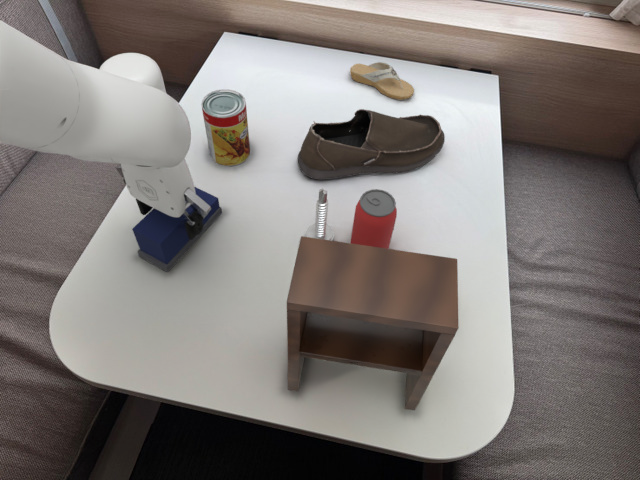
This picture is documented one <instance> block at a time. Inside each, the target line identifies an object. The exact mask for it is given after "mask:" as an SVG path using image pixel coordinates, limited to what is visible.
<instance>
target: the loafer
mask: <svg viewBox="0 0 640 480" xmlns="http://www.w3.org/2000/svg"><path fill="white" fill-rule="evenodd" d="M445 137H446V136H445V133H444V131H443V129H442V127H441V123H440V122H439V121H438V120H437V119H436V118H435V117H434V116H432V115H428V114H427V115H426V114H417V115H410V116H409V115H408V116H400V117H396V116H391V115H387V114H384V113H381V112H377V111H374V110H371V109H364V108H361V109H357V110H356V111H355V112H354V116H353V117H352V118H351V119H350V120H347V121H340V122H329V123H328V122H316V121H315V120H313V123H312V124H311V125H310V127H309V128H308V132H307V133H306V136H305V137H304V139H303V141H302V144H301V146H300V151H299V152H298V155H297V165H298V168H299V169H300V171H301V173H303V174H304V175H305V176H307V177H308V178H310V179H314V180H331V179H333V180H334V179H339V178H346V177H352V176H356V175H363V174H373V173H374V174H377V173H378V174H402V173H408V172H412V171H414V170H417V169H420V168H421V167H423V166H425V165H426V164H428V163H430V162H431V160H433V159H434V158H436V156H437V155H438V154H439V153H440V152H441V150H442V149H443V148H444V144H445V140H446V139H445Z"/></svg>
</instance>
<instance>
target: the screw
mask: <svg viewBox="0 0 640 480" xmlns="http://www.w3.org/2000/svg"><path fill="white" fill-rule="evenodd" d="M328 212H329V199H328V190H326V189H323V188H320V189H319V190H318V199H317V200H316V206H315V223H312V224H311V225H309V226H308V227H307V229H306V230H305V237H310V238H317V239H324V240H331V241H334V239H335V231H334V229H333V227H332V226H331V225H329V224H328V223H327V222H328Z"/></svg>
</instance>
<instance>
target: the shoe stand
mask: <svg viewBox="0 0 640 480" xmlns="http://www.w3.org/2000/svg"><path fill="white" fill-rule="evenodd" d="M458 270H459V269H458V259H457V258H455V257H447V256H441V255H433V254H427V253H420V252H413V251H407V250H399V249H392V248H389V249H386V248H379V247H372V246H365V245H358V244H351V243H350V242H344V241H337V240H333V241H331V240H324V239H317V238H310V237H306V236H300V239H299V244H298V249H297V253H296V258H295V262H294V267H293V271H292V276H291V280H290V284H289V290H288V294H287V299H286V344H287V345H286V347H287V348H286V349H287V390H288V391H292V392H299V389H300V385H301V379H302V373H303V368H304V361H305V358H307V359H313V360H319V361H326V362H333V363H338V364H339V363H340V364H344V365H351V366H352V365H353V366H358V367H365V368H369V369H370V368H371V369H375V370H376V369H377V370H383V371H389V372H397V373H401V374H405V385H404V387H405V388H404V404H403V405H404V407H403V408H404V409H405V410H410V411H416V410H417V408H418V405H419V404H420V402H421V400H422V398H423V396H424V394H425V392H426V391H427V389H428V387H429V384H430V383H431V381H432V380H433V377H434V376H435V373H436V372H437V370H438V368H439V367H440V364H441V363H442V360H443V359H444V357H445V355H446V353H447V351H448V349H449V347H450V345H451V343H452V341H453V340H454V338H455V336H456V334H457V332H458V330H459V281H458V280H459V278H458V277H459V276H458V274H459V273H458Z"/></svg>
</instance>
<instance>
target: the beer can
mask: <svg viewBox="0 0 640 480" xmlns="http://www.w3.org/2000/svg"><path fill="white" fill-rule="evenodd" d="M397 215H398V209H397V202H396V199H395V198H394V196H393V195H392V194H391V193H390V192H388V191H386V190H383V189H378V188H375V189H374V188H373V189H369V190H367V191H364V193H362V195H361V196H360V198H359V200H358V201H357V203H356V205H355V208H354V216H353V221H352V229H351V236H350V242H349V243H351V244H358V245H365V246H372V247H379V248H386V249H390V244H391V240H392V236H393V232H394V228H395V224H396V220H397V217H398V216H397Z"/></svg>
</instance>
